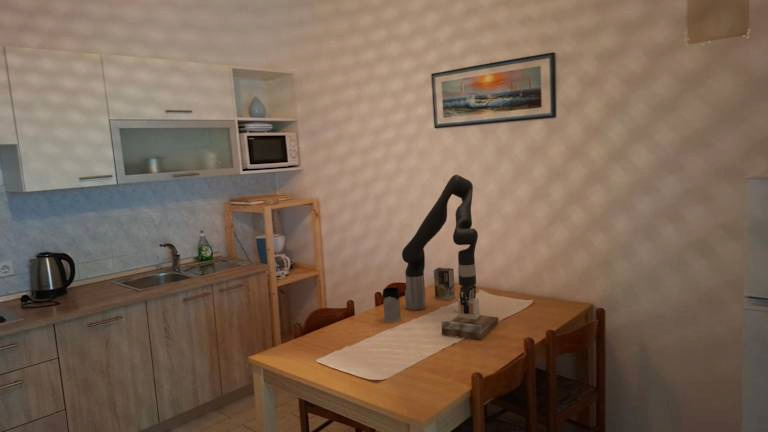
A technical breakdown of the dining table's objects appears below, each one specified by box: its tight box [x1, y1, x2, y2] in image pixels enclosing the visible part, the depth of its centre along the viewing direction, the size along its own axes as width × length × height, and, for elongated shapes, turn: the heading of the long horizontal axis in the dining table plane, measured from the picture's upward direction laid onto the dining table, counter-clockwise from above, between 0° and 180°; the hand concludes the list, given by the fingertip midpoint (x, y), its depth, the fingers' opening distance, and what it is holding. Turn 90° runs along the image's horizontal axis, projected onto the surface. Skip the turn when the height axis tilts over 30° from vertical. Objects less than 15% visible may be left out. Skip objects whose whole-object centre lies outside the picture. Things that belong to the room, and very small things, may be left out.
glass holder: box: [382, 287, 403, 324], centre depth 253 cm, size 9×14×15 cm, turn 166°
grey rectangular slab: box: [441, 314, 499, 341], centre depth 232 cm, size 18×22×6 cm
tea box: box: [457, 297, 481, 319], centre depth 230 cm, size 5×8×8 cm, turn 59°
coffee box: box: [433, 267, 456, 301], centre depth 280 cm, size 9×6×16 cm
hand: (468, 311), depth 230 cm, fingers closed on tea box, 5 cm apart
